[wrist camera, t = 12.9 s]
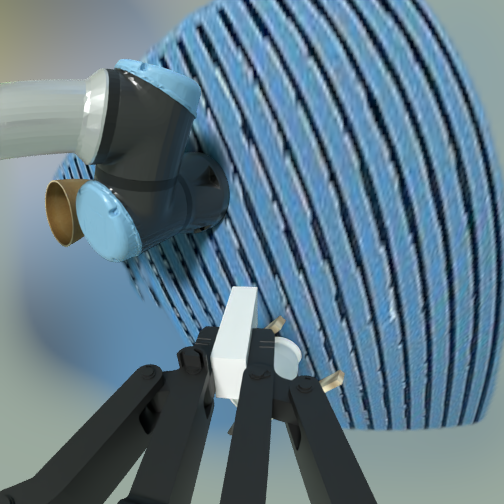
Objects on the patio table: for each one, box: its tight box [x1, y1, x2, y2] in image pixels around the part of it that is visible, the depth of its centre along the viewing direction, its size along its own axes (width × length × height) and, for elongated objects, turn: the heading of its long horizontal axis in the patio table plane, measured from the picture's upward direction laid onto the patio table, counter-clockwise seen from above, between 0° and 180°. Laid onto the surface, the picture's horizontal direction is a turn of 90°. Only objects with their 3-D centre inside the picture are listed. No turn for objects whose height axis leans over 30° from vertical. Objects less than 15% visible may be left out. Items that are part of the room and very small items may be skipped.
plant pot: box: [45, 179, 89, 247], centre depth 55 cm, size 15×15×16 cm
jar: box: [230, 337, 301, 420], centre depth 50 cm, size 11×10×15 cm
